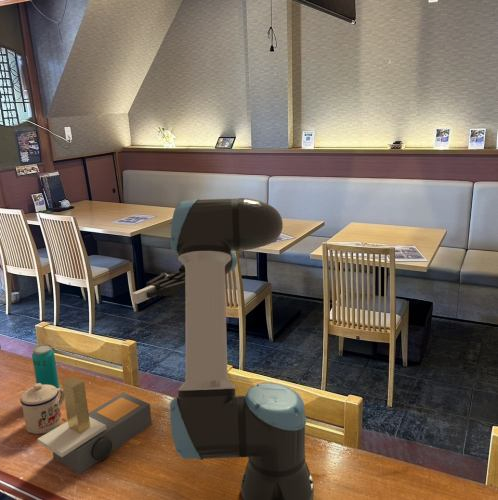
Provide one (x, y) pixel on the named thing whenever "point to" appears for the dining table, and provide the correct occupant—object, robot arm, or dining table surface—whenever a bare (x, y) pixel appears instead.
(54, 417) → the teacup with lid
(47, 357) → the beverage can
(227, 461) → the dining table surface
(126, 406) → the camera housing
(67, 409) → the sliding cover
